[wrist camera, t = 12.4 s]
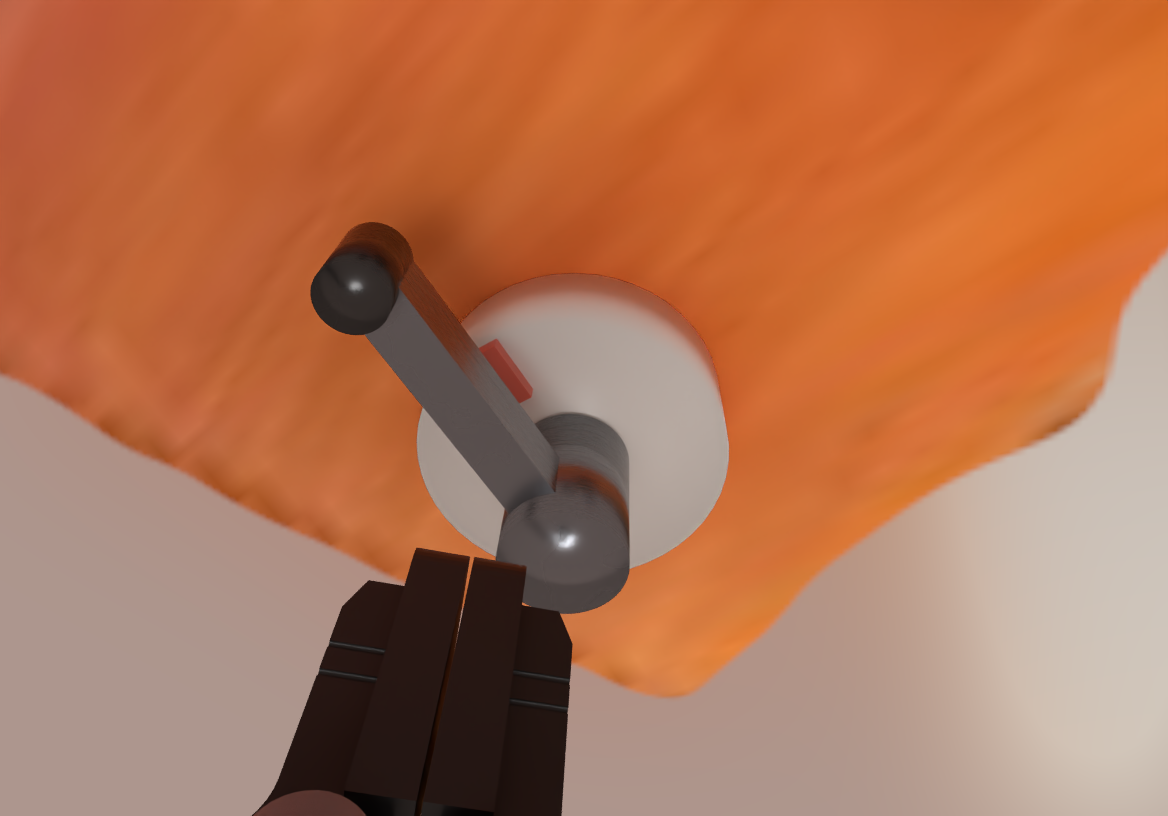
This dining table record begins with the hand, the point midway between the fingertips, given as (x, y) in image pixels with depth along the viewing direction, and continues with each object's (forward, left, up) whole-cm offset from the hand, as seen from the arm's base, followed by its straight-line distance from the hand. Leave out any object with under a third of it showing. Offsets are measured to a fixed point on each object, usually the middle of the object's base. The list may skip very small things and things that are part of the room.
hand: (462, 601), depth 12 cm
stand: (-5, -10, -23) cm, 26 cm away
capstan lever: (-5, -5, -19) cm, 20 cm away
